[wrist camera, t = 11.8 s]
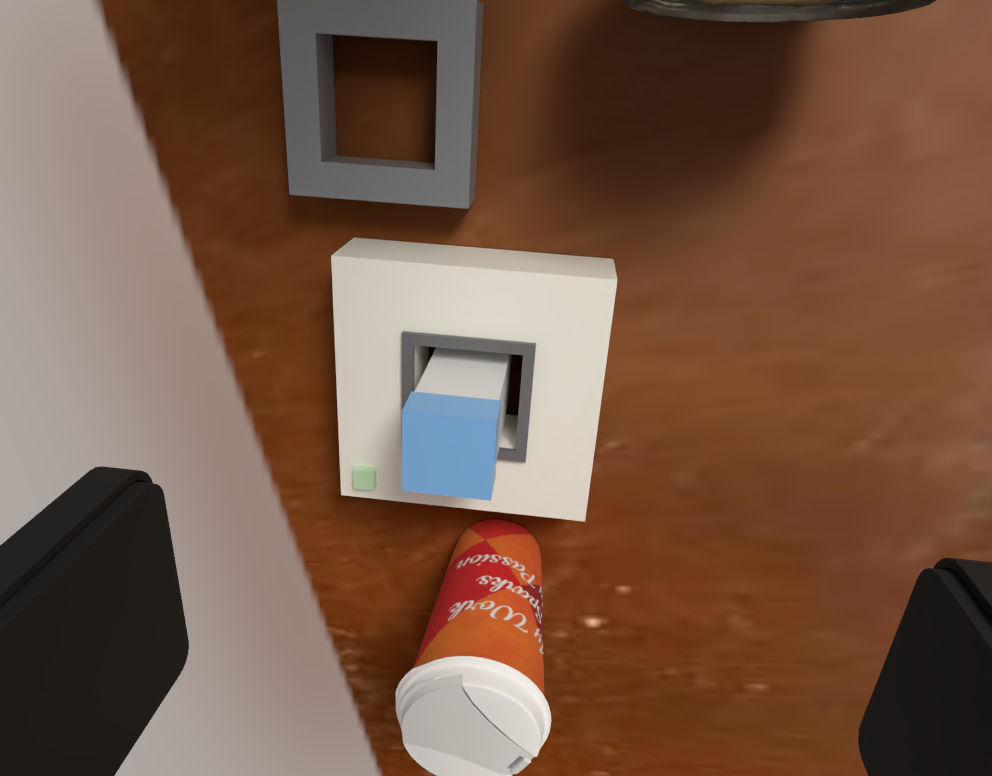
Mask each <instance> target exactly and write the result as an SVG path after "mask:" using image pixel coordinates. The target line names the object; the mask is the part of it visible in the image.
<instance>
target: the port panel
mask: <svg viewBox="0 0 992 776" xmlns="http://www.w3.org/2000/svg"><path fill="white" fill-rule="evenodd" d="M331 264H332V288H333V312H334V336H335V360H336V384H337V408H338V432H339V456H340V480H341V495H345V496H354V497H363V498H373V499H382V500H391V501H400V502H410V503H419V504H428V505H437V506H447V507H456V508H465V509H475V510H484V511H493V512H502V513H512V514H521V515H530V516H539V517H549V518H558V519H567V520H576V521H585V517H586V510H587V502H588V495H589V487H590V480H591V473H592V465H593V458H594V450H595V443H596V435H597V428H598V420H599V413H600V406H601V398H602V391H603V383H604V376H605V368H606V361H607V353H608V346H609V339H610V331H611V324H612V316H613V309H614V301H615V294H616V287H617V275H616V270H615V265H614V259H609V258H597V257H585V256H573V255H560V254H548V253H536V252H524V251H512V250H500V249H488V248H475V247H463V246H451V245H439V244H427V243H415V242H403V241H391V240H378V239H366V238H353V239H352V240H350V241H349V242H348V243H347V244H345V245H344V246H343V247H342V248H340V249H339V250H338V251H336V252H335V253H334V254H333V255H331ZM429 347H439V348H450V349H461V350H472V351H482V352H493V353H504V354H515V355H523V361H522V374H521V386H520V399H519V411H518V415H510V414H506V415H505V421H504V426H503V431H502V436H501V441H500V446H499V451H498V456H497V463H496V477H495V483H494V488H493V493H492V498H491V501H489V500H480V499H471V498H462V497H453V496H444V495H435V494H426V493H417V492H408V491H401V487H402V410H403V408H404V406H405V403H406V401H407V399H408V397H409V395H410V393H411V391H413V392H415V390H416V388H417V386H418V384H419V382H420V380H421V377H422V375H423V373H424V371H425V369H426V367H427V365H428V357H429Z"/></svg>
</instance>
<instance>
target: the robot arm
mask: <svg viewBox="0 0 992 776" xmlns="http://www.w3.org/2000/svg"><path fill="white" fill-rule="evenodd" d="M188 648H189V642H188V635H187V629H186V624H185V617H184V612H183V606H182V599H181V593H180V587H179V581H178V576H177V569H176V563H175V557H174V551H173V546H172V540H171V533H170V528H169V522H168V516H167V510H166V504H165V498H164V493H163V490H162V488H161V487H160V486H159V485H157V484H153V483H152V479H151V478H150V476H149V475H148V474H147V473H145V472H143V471H138V470H129V469H120V468H110V467H95V468H94V469H92V470H90V471H89V472H88V473H86V474H85V475H84V476H83V477H82V478H80V480H78V481H77V482H76V483H74V484H73V485H72V486H71V487H70V488H69V489H67V490H66V491H65V492H64V493H63V494H61V495H60V496H59V497H58V498H57V499H55V500H54V501H53V502H52V503H51V504H49V505H48V506H47V507H46V508H45V509H43V510H42V511H41V512H40V513H39V514H38V515H36V516H35V517H34V518H33V519H32V520H30V521H29V522H28V523H27V524H26V525H24V526H23V527H22V528H21V529H20V530H18V531H17V532H16V533H15V534H14V535H12V536H11V537H10V538H9V539H8V540H7V541H5V542H4V543H3V544H2V545H0V776H114V775H115V774H116V772H117V770H118V769H119V767H120V766H121V764H122V763H123V761H124V760H125V758H126V757H127V755H128V754H129V752H130V750H131V749H132V747H133V746H134V744H135V743H136V741H137V740H138V738H139V736H140V735H141V734H142V732H143V730H144V729H145V727H146V726H147V724H148V723H149V721H150V720H151V718H152V717H153V715H154V713H155V712H156V710H157V709H158V707H159V706H160V704H161V703H162V701H163V700H164V698H165V696H166V695H167V693H168V692H169V690H170V688H171V687H172V686H173V684H174V683H175V681H176V680H177V678H178V676H179V675H180V673H181V671H182V670H183V667H184V665H185V662H186V659H187V655H188ZM858 740H859V749H860V754H861V758H862V761H863V763H864V766H865V768H866V770H867V773H868V775H869V776H992V562H983V561H973V560H964V559H955V558H944V559H941V560H940V561H939V562H937V563H936V564H935V566H934V568H933V569H932V568H928V569H924V570H923V571H922V572H921V573H920V575H919V577H918V579H917V581H916V584H915V586H914V589H913V591H912V594H911V597H910V599H909V602H908V604H907V607H906V609H905V612H904V614H903V617H902V620H901V622H900V625H899V627H898V630H897V632H896V635H895V637H894V640H893V643H892V645H891V648H890V650H889V653H888V655H887V658H886V660H885V663H884V665H883V668H882V671H881V673H880V676H879V678H878V681H877V683H876V686H875V688H874V691H873V694H872V696H871V699H870V701H869V704H868V706H867V709H866V711H865V714H864V717H863V719H862V722H861V724H860V728H859V736H858Z"/></svg>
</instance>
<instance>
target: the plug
mask: <svg viewBox="0 0 992 776" xmlns="http://www.w3.org/2000/svg"><path fill="white" fill-rule="evenodd" d="M511 356H512V354H504V353H493V352H482V351H472V350H461V349H450V348H439V347H436V349H435V351H434V353H433V355H432V357H431V359H430V361H429V363H428V365H427V367H426V369H425V371H424V373H423V375H422V377H421V380H420V382H419V384H418V386H417V388H416V390H415V392H413V391H411V393H410V395H409V397H408V399H407V401H406V403H405V406H404V408H403V410H402V487H401V491H408V492H417V493H426V494H435V495H444V496H453V497H462V498H471V499H480V500H489V501H491V498H492V493H493V488H494V483H495V477H496V463H497V456H498V451H499V446H500V441H501V436H502V431H503V426H504V421H505V415H506V410H507V405H508V395H509V382H510V369H511Z"/></svg>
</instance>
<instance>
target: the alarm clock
mask: <svg viewBox="0 0 992 776" xmlns="http://www.w3.org/2000/svg"><path fill="white" fill-rule="evenodd" d="M934 1H936V0H625V2H626V3H627V4H628V6H630V7H631V8H633V9H635V10H638V11H641V12H643V13H648V14H652V15H657V16H662V17H674V18H682V19H692V20H703V21H723V22H797V21H819V20H822V21H824V20H833V19H851V18H863V17H873V16H881V15H886V14H893V13H899V12H904V11H908V10H912V9H916V8H919V7H923V6H926V5H930V4H931V3H933V2H934Z"/></svg>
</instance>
